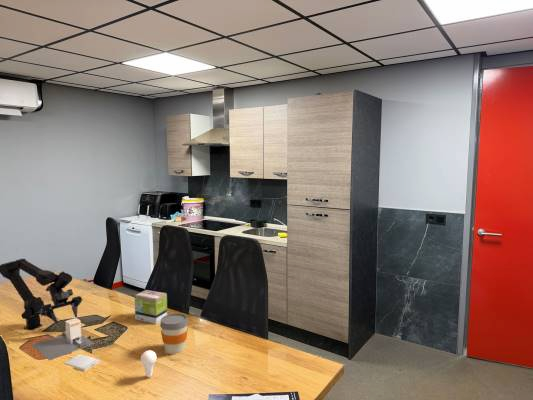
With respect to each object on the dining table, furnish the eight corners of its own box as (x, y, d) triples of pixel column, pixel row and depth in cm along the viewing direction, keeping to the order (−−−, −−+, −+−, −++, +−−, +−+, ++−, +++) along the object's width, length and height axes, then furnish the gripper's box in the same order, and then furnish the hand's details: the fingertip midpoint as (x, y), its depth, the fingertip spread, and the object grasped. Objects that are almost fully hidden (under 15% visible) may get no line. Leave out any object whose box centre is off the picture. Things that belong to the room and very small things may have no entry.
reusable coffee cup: (193, 345, 177) (192, 315, 176) (179, 358, 165) (178, 326, 164) (171, 341, 181) (170, 311, 180) (155, 353, 169) (154, 322, 168)
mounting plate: (31, 346, 176) (31, 344, 176) (74, 331, 192) (74, 330, 192) (49, 361, 162) (49, 360, 162) (94, 344, 178) (94, 343, 178)
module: (66, 340, 180) (65, 321, 179) (76, 337, 184) (76, 317, 183) (71, 344, 177) (70, 324, 176) (81, 340, 181) (80, 320, 180)
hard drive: (63, 362, 160) (84, 368, 155) (80, 353, 167) (100, 359, 162) (64, 366, 160) (84, 372, 155) (80, 357, 167) (100, 362, 162)
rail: (62, 335, 186) (62, 332, 186) (68, 333, 188) (68, 330, 188) (80, 347, 173) (79, 344, 173) (86, 345, 176) (86, 341, 175)
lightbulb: (143, 373, 153) (142, 347, 152) (158, 372, 154) (157, 347, 153) (139, 381, 147) (138, 355, 146) (155, 380, 148) (154, 354, 147)
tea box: (134, 320, 206) (133, 294, 204) (146, 313, 215) (145, 289, 213) (156, 324, 200) (155, 298, 198) (168, 317, 209) (167, 292, 208)
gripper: (40, 290, 179) (50, 318, 173) (80, 280, 193) (90, 306, 187) (35, 301, 185) (45, 329, 179) (74, 292, 199) (84, 317, 193)
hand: (67, 320), depth 184 cm, fingers open, 9 cm apart
